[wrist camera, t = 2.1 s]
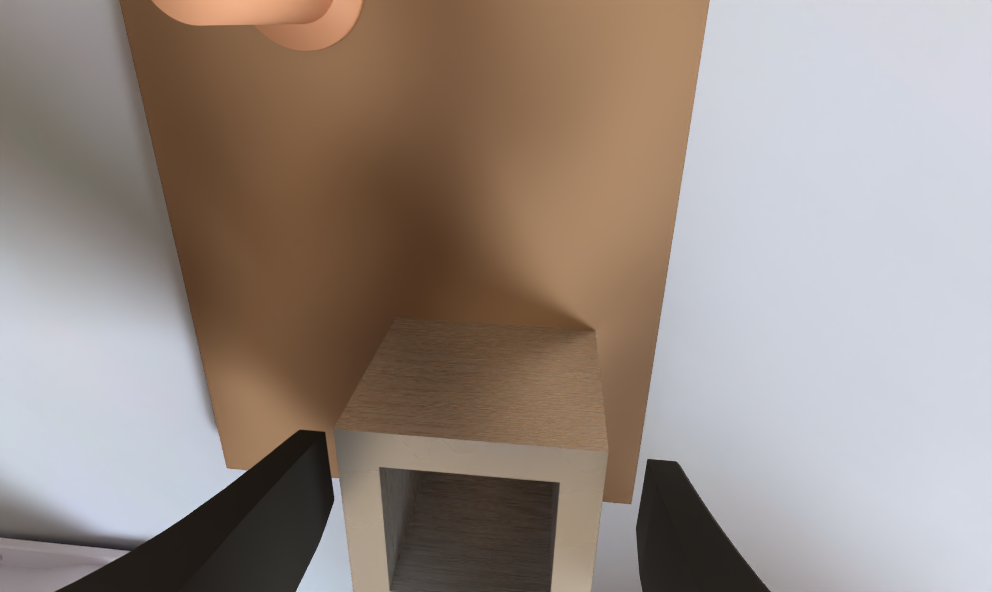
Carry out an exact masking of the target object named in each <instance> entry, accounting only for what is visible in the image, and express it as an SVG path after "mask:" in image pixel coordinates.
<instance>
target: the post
mask: <svg viewBox="0 0 992 592" xmlns="http://www.w3.org/2000/svg"><path fill="white" fill-rule="evenodd" d="M152 2H153V3H154V4H155V5H156V6H157V7H158V8H159V9H161V10H162V11H163V12H164V13H166V14H167V15H168V16H170V17H172V18H173V19H175V20H177V21H180V22H182V23H185V24H190V25H198V26H202V25H254V26H255V27H256V28H257V29H258V30H259V31H260V32H261V33H262V34H263V35H265V36H266V37H267V38H269V39H270V40H271V41H273V42H275V43H277V44H279V45H281V46H283V47H286V48H289V49H293V50H298V51H313V50H320V49H325V48H328V47H330V46H333V45H335V44H336V43H338V42H340V41H341V40H342V39H344V38H345V37H346V36H347V35H348V34H349V33H350V32H351V30H352V29H353V28H354V26H355V25H356V23H357V21H358V19H359V17H360V14H361V12H362V9H363V4H364V0H152Z"/></svg>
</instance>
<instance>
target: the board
mask: <svg viewBox="0 0 992 592" xmlns="http://www.w3.org/2000/svg"><path fill="white" fill-rule="evenodd" d="M709 1H710V0H364V4H363V9H362V12H361V14H360V17H359V19H358V21H357V23H356V25H355V26H354V28H353V29H352V30H351V32H350V33H349V34H348V35H347V36H346V37H345V38H344V39H342V40H341V41H340V42H338V43H336V44H335V45H333V46H330V47H328V48H325V49H320V50H313V51H298V50H293V49H289V48H286V47H283V46H281V45H279V44H277V43H275V42H273V41H271V40H270V39H269V38H267V37H266V36H265V35H263V34H262V33H261V32H260V31H259V30H258V29H257V28H256V27H255V26H254V25H202V26H198V25H190V24H185V23H182V22H180V21H177V20H175V19H173V18H172V17H170V16H168V15H167V14H166V13H164V12H163V11H162V10H161V9H159V8H158V7H157V6H156V5H155V4H154V3H153V2H152V0H120V4H121V8H122V13H123V17H124V22H125V26H126V30H127V35H128V39H129V43H130V48H131V52H132V56H133V61H134V65H135V70H136V74H137V78H138V83H139V87H140V91H141V96H142V100H143V104H144V109H145V113H146V118H147V122H148V126H149V131H150V135H151V139H152V144H153V148H154V152H155V157H156V161H157V166H158V170H159V174H160V179H161V183H162V187H163V192H164V196H165V200H166V205H167V209H168V214H169V218H170V222H171V227H172V231H173V235H174V240H175V244H176V248H177V253H178V257H179V262H180V266H181V270H182V275H183V279H184V283H185V288H186V292H187V296H188V301H189V305H190V310H191V314H192V318H193V323H194V327H195V331H196V336H197V340H198V344H199V349H200V353H201V358H202V362H203V366H204V371H205V375H206V379H207V384H208V388H209V392H210V397H211V401H212V406H213V410H214V414H215V419H216V423H217V427H218V432H219V436H220V441H221V445H222V449H223V454H224V458H225V462H226V467H227V468H230V469H241V470H249V469H251V468H252V467H253V466H254V465H256V464H257V463H258V462H259V461H261V460H262V459H263V458H264V457H266V456H267V455H268V454H269V453H270V452H272V451H273V450H274V449H275V448H277V447H278V446H279V445H280V444H282V443H283V442H284V441H285V440H287V439H288V438H289V437H290V436H292V435H293V434H294V433H296V432H297V431H298V430H299V429H300V430H312V431H324V432H325V434H326V441H327V449H328V456H329V463H330V471H331V478H339V471H338V463H337V455H336V447H335V439H334V431H333V429H334V427H335V425H336V424H337V422H338V420H339V418H340V416H341V415H342V413H343V411H344V409H345V407H346V406H347V404H348V402H349V400H350V399H351V397H352V395H353V393H354V391H355V390H356V388H357V386H358V384H359V383H360V381H361V379H362V377H363V375H364V374H365V372H366V370H367V368H368V366H369V365H370V363H371V361H372V359H373V358H374V356H375V354H376V352H377V350H378V349H379V347H380V345H381V343H382V341H383V340H384V338H385V336H386V334H387V333H388V331H389V329H390V327H391V325H392V324H393V322H394V320H395V318H396V317H397V318H412V319H428V320H444V321H459V322H475V323H490V324H506V325H521V326H537V327H552V328H568V329H584V330H596V340H597V349H598V358H599V368H600V377H601V386H602V396H603V405H604V414H605V424H606V433H607V442H608V460H607V468H606V475H605V483H604V491H603V499H602V502H613V503H624V504H631V502H632V496H633V490H634V483H635V477H636V470H637V464H638V457H639V451H640V445H641V438H642V432H643V425H644V419H645V412H646V406H647V400H648V393H649V387H650V380H651V374H652V367H653V361H654V355H655V348H656V342H657V335H658V329H659V322H660V316H661V309H662V303H663V297H664V290H665V284H666V277H667V271H668V264H669V258H670V252H671V245H672V239H673V232H674V226H675V219H676V213H677V207H678V200H679V194H680V187H681V181H682V174H683V168H684V162H685V155H686V149H687V142H688V136H689V129H690V123H691V117H692V110H693V104H694V97H695V91H696V84H697V78H698V72H699V65H700V59H701V52H702V46H703V39H704V33H705V27H706V20H707V14H708V7H709Z"/></svg>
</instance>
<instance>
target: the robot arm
mask: <svg viewBox="0 0 992 592" xmlns="http://www.w3.org/2000/svg"><path fill="white" fill-rule="evenodd" d="M333 502H334V493H333V486H332V478H331V471H330V463H329V456H328V449H327V441H326V434H325V432H324V431H312V430H300V429H299V430H298V431H297V432H296V433H294V434H293V435H292V436H290V437H289V438H288V439H287V440H285V441H284V442H283V443H282V444H280V445H279V446H278V447H277V448H275V449H274V450H273V451H272V452H270V453H269V454H268V455H267V456H266V457H264V458H263V459H262V460H261V461H259V462H258V463H257V464H256V465H254V466H253V467H252V468H251V469H249V470H248V471H247V472H245V473H244V474H243V475H242V476H240V477H239V478H238V479H236V480H235V481H234V482H233V483H231V484H230V485H229V486H227V487H226V488H225V489H223V490H222V491H221V492H219V493H218V494H217V495H215V496H214V497H212V498H211V499H210V500H208V501H207V502H205V503H204V504H203V505H201V506H200V507H198V508H197V509H196V510H194V511H193V512H191V513H190V514H189V515H187V516H186V517H184V518H183V519H182V520H180V521H179V522H177V523H176V524H174V525H173V526H171V527H169V528H168V529H166V530H165V531H163V532H162V533H160V534H158V535H157V536H155V537H154V538H152V539H150V540H149V541H147V542H145V543H144V544H142V545H140V546H139V547H137V548H136V549H134V550H132V551H126V550H116V549H106V548H96V547H87V546H77V545H67V544H57V543H48V542H38V541H28V540H18V539H9V538H0V592H296V590H297V588H298V586H299V584H300V582H301V580H302V578H303V576H304V574H305V572H306V570H307V567H308V565H309V563H310V561H311V559H312V557H313V555H314V553H315V551H316V549H317V547H318V545H319V543H320V540H321V537H322V534H323V532H324V529H325V526H326V523H327V520H328V517H329V514H330V511H331V508H332V505H333ZM636 535H637V549H638V562H639V574H640V580H641V586H642V591H643V592H770V590H769V589H768V588H767V587H766V586H765V584H764V583H763V582H762V581H761V580H760V578H759V577H758V576H757V575H756V573H755V572H754V571H753V570H752V568H751V567H750V566H749V565H748V564H747V562H746V561H745V560H744V558H743V557H742V556H741V555H740V553H739V552H738V551H737V549H736V548H735V547H734V545H733V544H732V543H731V541H730V540H729V538H728V537H727V536H726V534H725V533H724V532H723V530H722V529H721V527H720V526H719V525H718V523H717V522H716V520H715V519H714V518H713V516H712V515H711V513H710V512H709V510H708V509H707V507H706V506H705V504H704V503H703V501H702V500H701V498H700V497H699V495H698V494H697V492H696V490H695V489H694V487H693V486H692V484H691V483H690V481H689V479H688V478H687V476H686V474H685V473H684V471H683V469H682V468H681V466H680V465H679V464H678V463H677V462H676V461H664V460H653V459H647V465H646V471H645V477H644V483H643V489H642V495H641V502H640V508H639V514H638V520H637V526H636Z"/></svg>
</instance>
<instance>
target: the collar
mask: <svg viewBox="0 0 992 592" xmlns="http://www.w3.org/2000/svg"><path fill="white" fill-rule="evenodd" d="M333 431H334V439H335V447H336V455H337V463H338V471H339V479H340V487H341V495H342V503H343V511H344V519H345V527H346V535H347V543H348V551H349V559H350V567H351V575H352V583H353V591H354V592H591V586H592V578H593V570H594V562H595V554H596V546H597V538H598V531H599V523H600V515H601V507H602V499H603V491H604V483H605V475H606V468H607V460H608V442H607V433H606V424H605V414H604V405H603V396H602V386H601V377H600V368H599V358H598V349H597V340H596V330H584V329H568V328H552V327H537V326H521V325H506V324H490V323H475V322H459V321H444V320H428V319H412V318H397V317H396V318H395V320H394V322H393V324H392V325H391V327H390V329H389V331H388V333H387V334H386V336H385V338H384V340H383V341H382V343H381V345H380V347H379V349H378V350H377V352H376V354H375V356H374V358H373V359H372V361H371V363H370V365H369V366H368V368H367V370H366V372H365V374H364V375H363V377H362V379H361V381H360V383H359V384H358V386H357V388H356V390H355V391H354V393H353V395H352V397H351V399H350V400H349V402H348V404H347V406H346V407H345V409H344V411H343V413H342V415H341V416H340V418H339V420H338V422H337V424H336V425H335V427H334V429H333Z"/></svg>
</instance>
